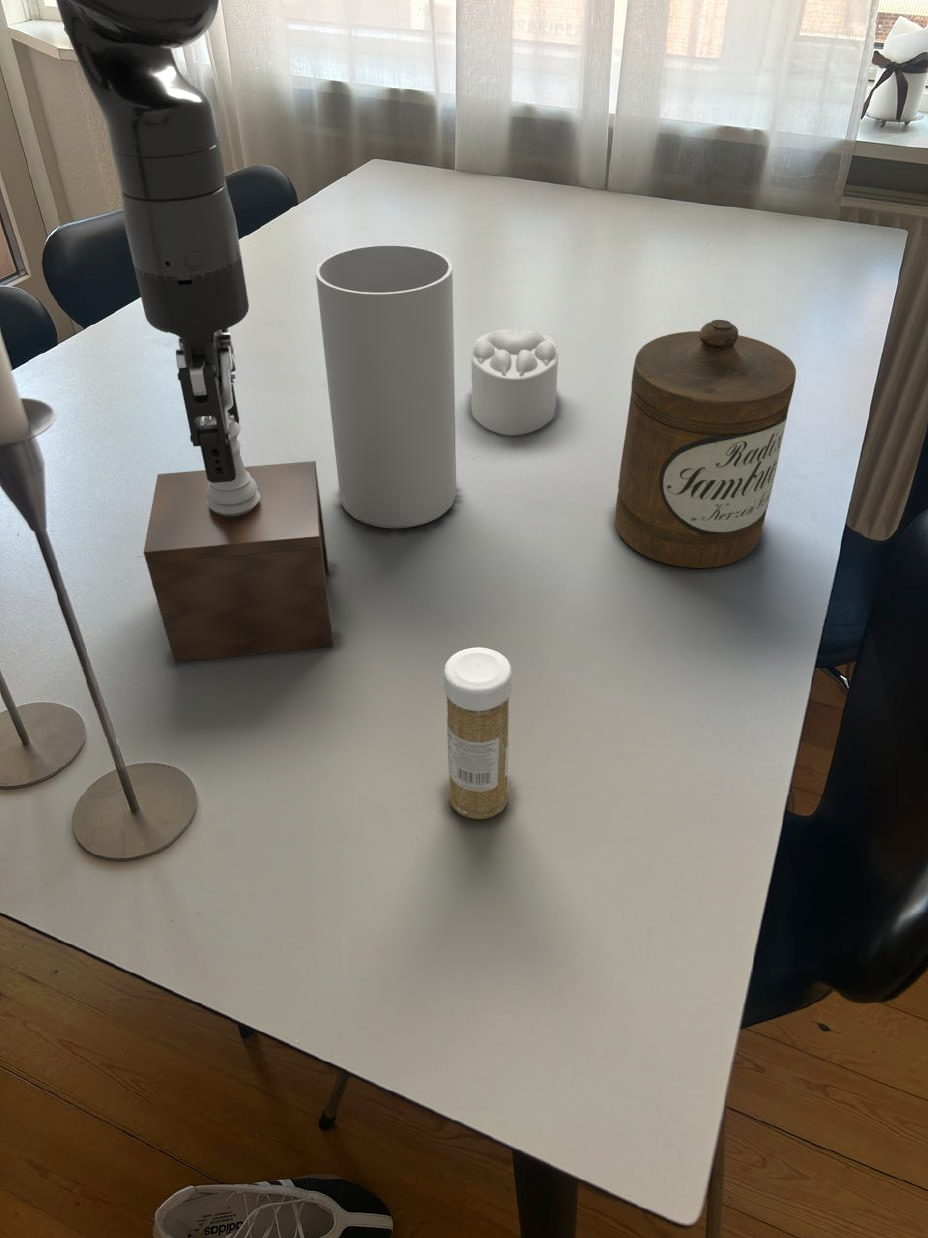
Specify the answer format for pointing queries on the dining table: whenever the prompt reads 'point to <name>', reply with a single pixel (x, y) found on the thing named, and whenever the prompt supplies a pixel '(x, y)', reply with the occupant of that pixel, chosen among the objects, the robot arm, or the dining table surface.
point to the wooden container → (702, 445)
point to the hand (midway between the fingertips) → (224, 452)
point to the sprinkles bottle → (478, 731)
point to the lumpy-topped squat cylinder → (514, 381)
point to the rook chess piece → (235, 493)
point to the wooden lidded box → (240, 566)
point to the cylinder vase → (390, 381)
